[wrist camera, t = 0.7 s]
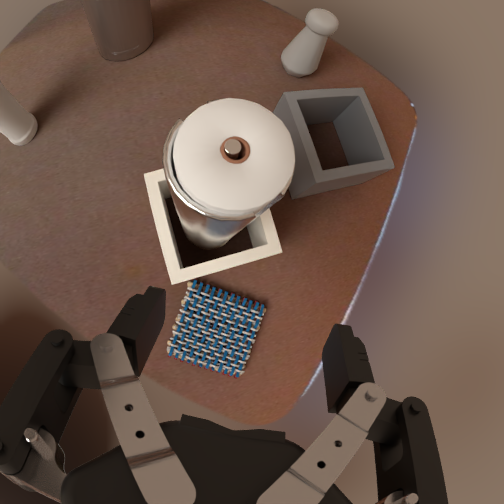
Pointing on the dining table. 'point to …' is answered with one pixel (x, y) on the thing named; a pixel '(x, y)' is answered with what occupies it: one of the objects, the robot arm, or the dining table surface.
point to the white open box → (262, 243)
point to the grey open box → (349, 132)
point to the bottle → (15, 119)
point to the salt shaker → (309, 43)
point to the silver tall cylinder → (226, 168)
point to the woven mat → (205, 328)
